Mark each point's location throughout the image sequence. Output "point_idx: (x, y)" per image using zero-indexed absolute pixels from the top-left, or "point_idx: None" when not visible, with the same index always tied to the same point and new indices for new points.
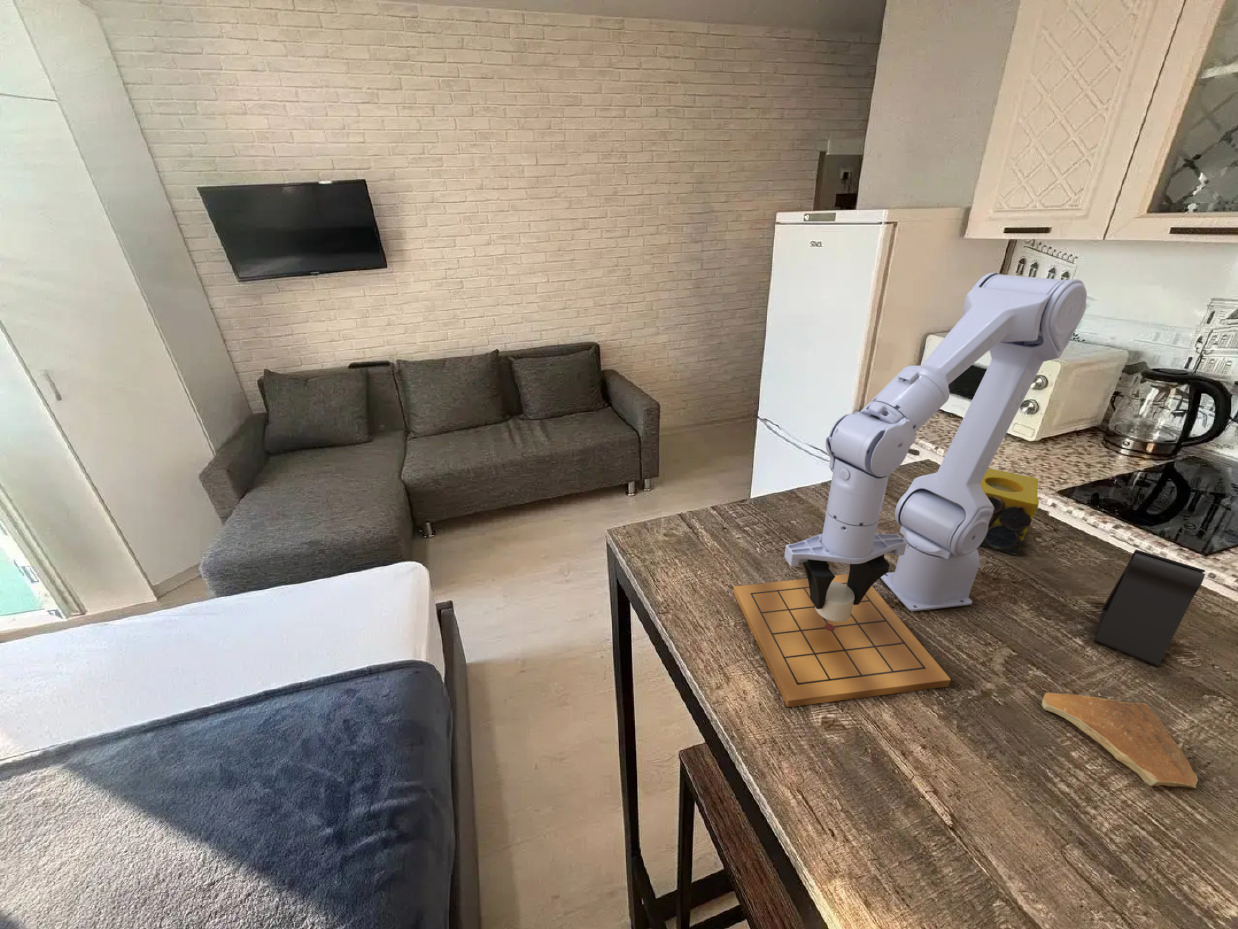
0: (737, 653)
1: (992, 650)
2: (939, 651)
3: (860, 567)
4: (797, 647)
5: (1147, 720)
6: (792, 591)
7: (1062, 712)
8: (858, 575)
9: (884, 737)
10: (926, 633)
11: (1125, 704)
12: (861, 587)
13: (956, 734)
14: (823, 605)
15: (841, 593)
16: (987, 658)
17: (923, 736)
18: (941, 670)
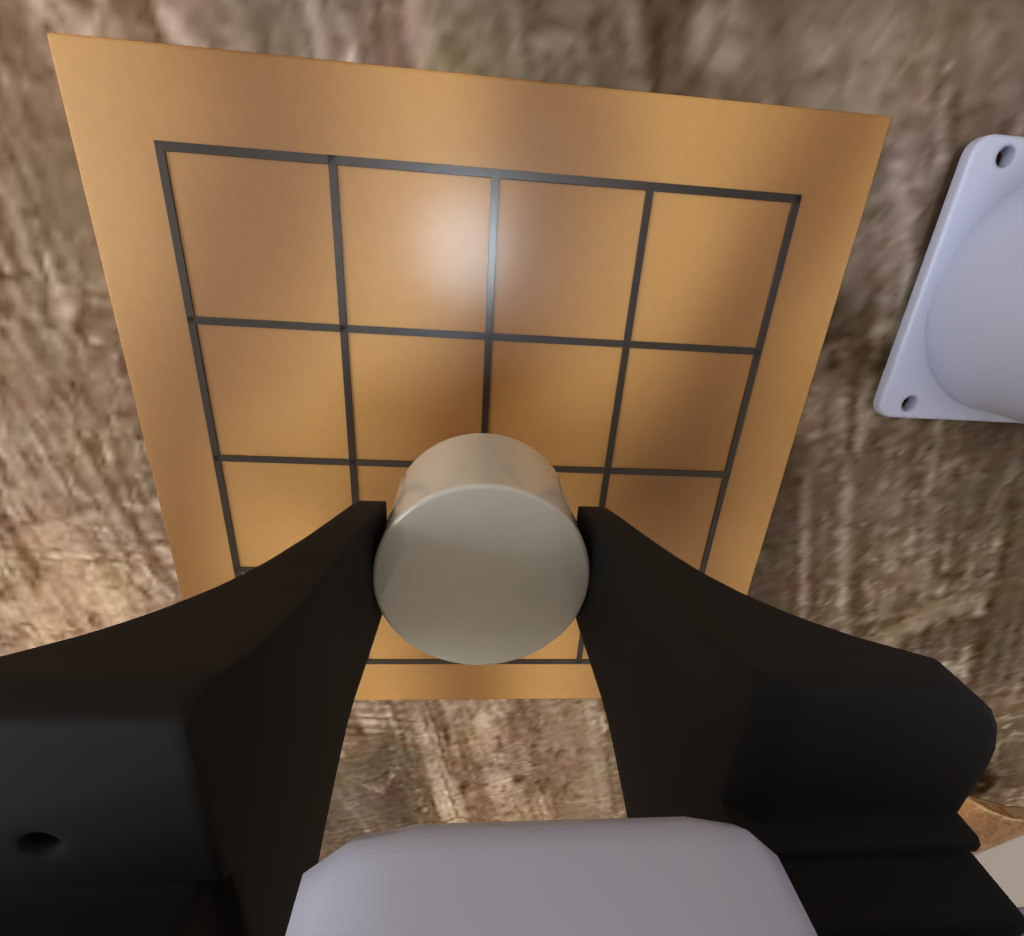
0: (80, 476)
1: (937, 596)
2: (791, 577)
3: (660, 785)
4: (306, 535)
5: (995, 840)
6: (419, 187)
7: None
8: (632, 704)
9: (445, 757)
10: (824, 509)
11: (1005, 821)
12: (605, 701)
13: (610, 766)
14: None
15: (507, 598)
16: (893, 616)
17: (535, 763)
18: None
